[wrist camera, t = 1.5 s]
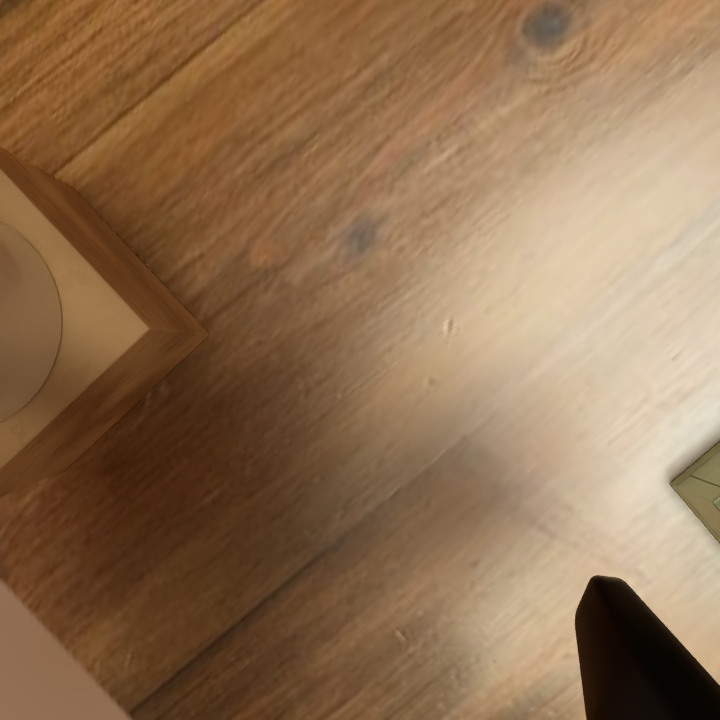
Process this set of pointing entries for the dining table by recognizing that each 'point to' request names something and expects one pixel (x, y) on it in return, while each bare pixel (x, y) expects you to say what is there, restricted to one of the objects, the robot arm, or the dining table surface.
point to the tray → (703, 489)
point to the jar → (25, 321)
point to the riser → (85, 327)
